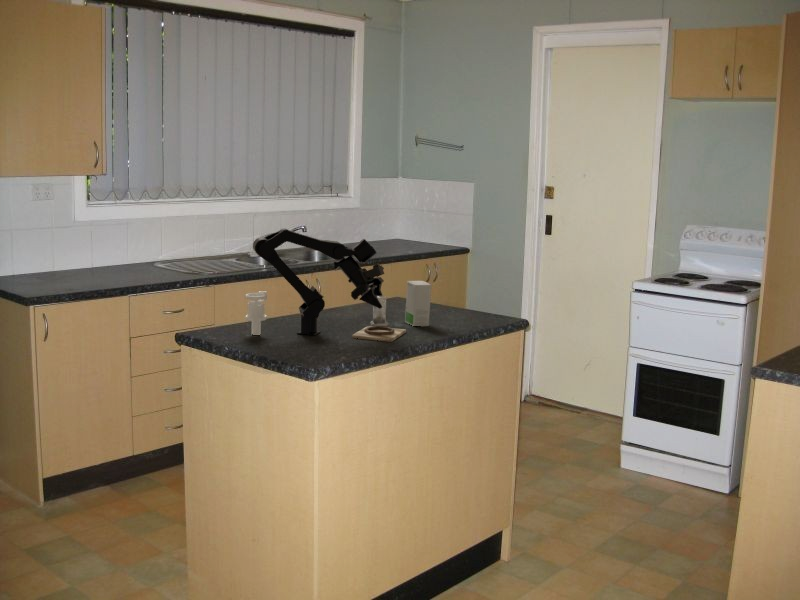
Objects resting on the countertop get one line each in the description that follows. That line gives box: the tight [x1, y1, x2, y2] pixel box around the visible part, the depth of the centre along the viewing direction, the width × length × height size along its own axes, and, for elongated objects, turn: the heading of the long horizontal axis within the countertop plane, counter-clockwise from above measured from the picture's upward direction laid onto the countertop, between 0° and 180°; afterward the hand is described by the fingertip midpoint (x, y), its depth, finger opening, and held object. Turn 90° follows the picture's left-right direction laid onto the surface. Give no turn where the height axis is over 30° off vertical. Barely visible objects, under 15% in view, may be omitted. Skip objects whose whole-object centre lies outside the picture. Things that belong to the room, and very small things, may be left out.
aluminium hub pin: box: [369, 294, 389, 327], centre depth 307 cm, size 6×6×10 cm
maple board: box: [351, 325, 407, 343], centre depth 308 cm, size 16×14×2 cm
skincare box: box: [404, 280, 432, 327], centre depth 326 cm, size 8×7×16 cm
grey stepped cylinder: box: [244, 290, 268, 336], centre depth 302 cm, size 7×7×15 cm
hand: (383, 306), depth 306 cm, fingers closed on aluminium hub pin, 4 cm apart
